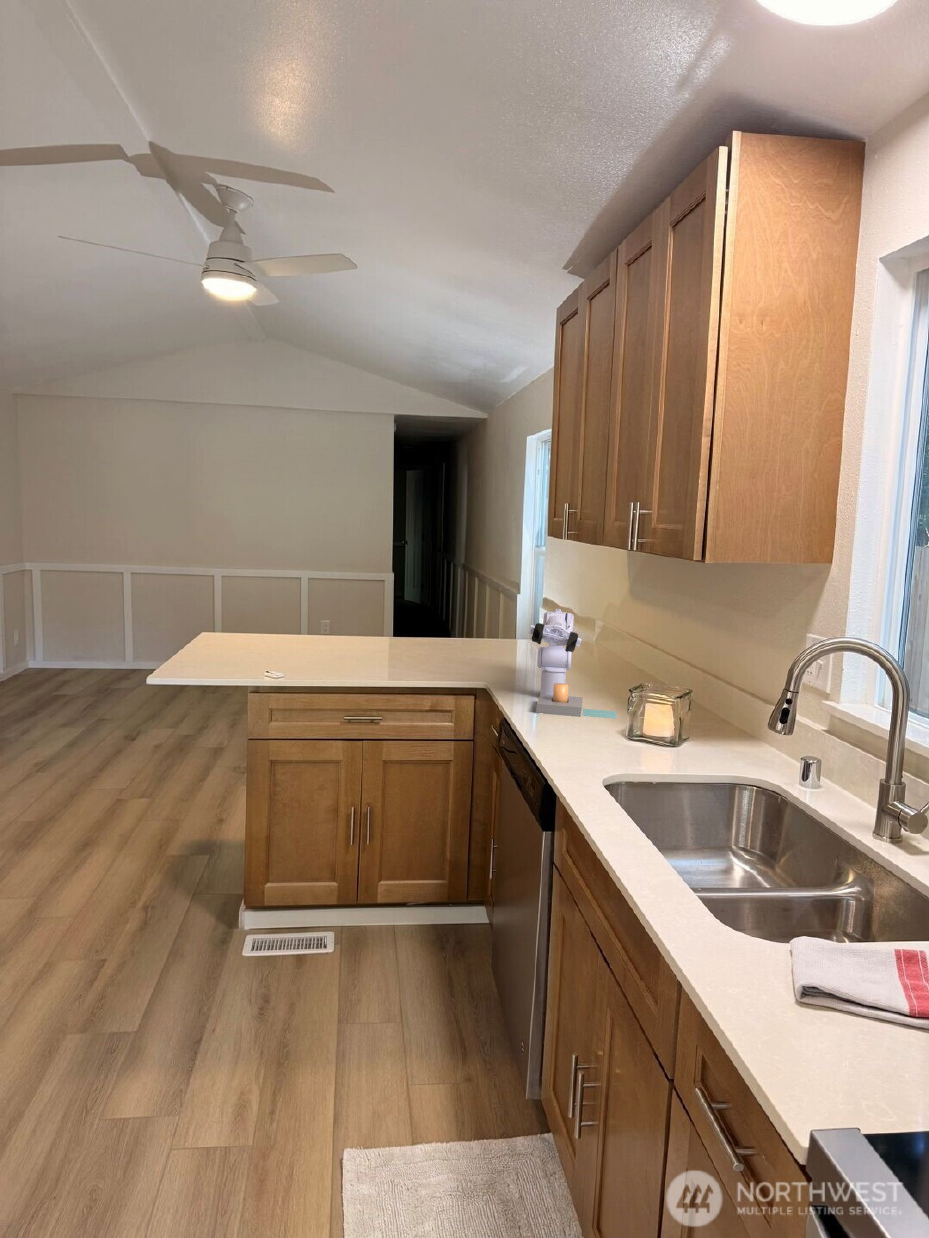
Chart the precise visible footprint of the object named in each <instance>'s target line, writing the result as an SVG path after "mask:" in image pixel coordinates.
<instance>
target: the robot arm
mask: <svg viewBox="0 0 929 1238" xmlns="http://www.w3.org/2000/svg"><path fill="white" fill-rule="evenodd" d="M542 619H543V622H541V623H540V622H537V623H536V624H534V625H532V624H531V625H530V628H529V631H528V634H530V635H532V636H531V641H532V642H534V643H537V644H538V645H541V644H542V641H544V642H545V643H547V644H548V646H540V647H538V649H537V661H536V662H537V663H536V664H537V667H538V669H540V671H541V673H540V687H539V689H540V690H539V695H540V694H547V695H553V691H554V684H555V683H563V684H566V680H567V679H566V676H567V671H570V670H571V668H572V654H573V652H575V650H576V647H577V648H580V645H581V644H582V638H580V637H579V633H577V632H575V631H574V622H575V621H574V619H575V615H574V614H573V613H571V612H565V611H562V609H560V608H555V610H554V611H545V612H544V613H543V618H542ZM564 646H565V647H564Z"/></svg>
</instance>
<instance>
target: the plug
mask: <svg viewBox="0 0 929 1238" xmlns="http://www.w3.org/2000/svg"><path fill="white" fill-rule="evenodd" d="M568 696H569V684H568V683H565V684H563V683H555V684H554V691H553V702H563V703H567V700H568Z"/></svg>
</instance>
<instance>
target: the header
mask: <svg viewBox="0 0 929 1238" xmlns="http://www.w3.org/2000/svg"><path fill="white" fill-rule="evenodd" d="M582 710H583V697H582V696H570V695H568V700H567V703H563V702H553V695H547V694H540V693H539V696H538V699H537V702H536V708H535V713H536V714H540V713H543V715H553V716H564V717H565V716H567V717H576V718H577V717H579V718H581V716H582V712H583V711H582Z"/></svg>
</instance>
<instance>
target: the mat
mask: <svg viewBox="0 0 929 1238" xmlns="http://www.w3.org/2000/svg"><path fill="white" fill-rule="evenodd" d="M582 710H583V711H582V716H583V717H593V718H603V719H604V718H605V719H617V711H616V710H615V711H614V710H605V709H603V710H602V709H591V708H582Z"/></svg>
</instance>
